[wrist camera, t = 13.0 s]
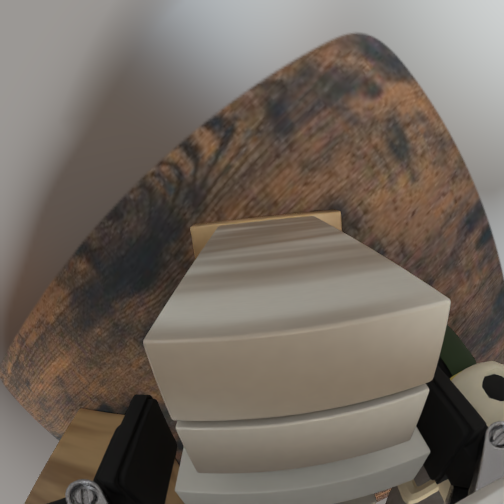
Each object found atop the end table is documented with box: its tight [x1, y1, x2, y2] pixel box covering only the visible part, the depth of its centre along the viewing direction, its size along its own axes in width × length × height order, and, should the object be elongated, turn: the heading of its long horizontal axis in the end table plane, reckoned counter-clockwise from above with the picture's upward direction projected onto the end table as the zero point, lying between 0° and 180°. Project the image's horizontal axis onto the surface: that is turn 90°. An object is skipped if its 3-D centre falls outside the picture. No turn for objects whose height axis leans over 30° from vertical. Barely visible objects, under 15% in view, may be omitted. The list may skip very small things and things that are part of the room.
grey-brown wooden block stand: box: [143, 210, 451, 504], centre depth 11 cm, size 14×8×12 cm, turn 6°
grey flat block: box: [175, 427, 430, 504], centre depth 11 cm, size 2×7×11 cm, turn 96°
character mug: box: [398, 325, 504, 504], centre depth 12 cm, size 11×7×13 cm, turn 123°
